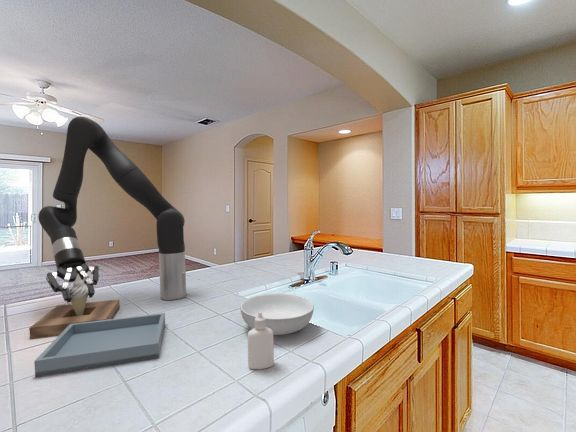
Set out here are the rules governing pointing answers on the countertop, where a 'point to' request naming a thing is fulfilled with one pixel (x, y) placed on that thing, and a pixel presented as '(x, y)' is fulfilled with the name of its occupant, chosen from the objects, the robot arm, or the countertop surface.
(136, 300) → the countertop surface
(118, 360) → the slate blue tray
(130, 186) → the robot arm
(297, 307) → the serving bowl
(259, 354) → the eye dropper bottle
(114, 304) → the walnut board
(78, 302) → the ice cream cone
